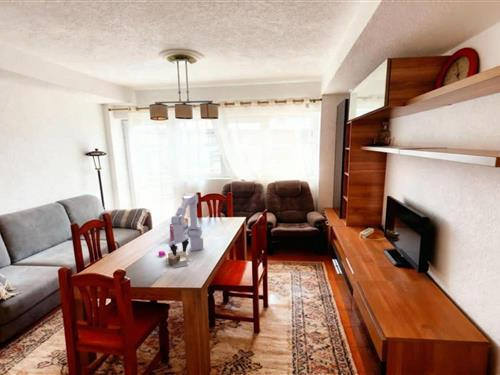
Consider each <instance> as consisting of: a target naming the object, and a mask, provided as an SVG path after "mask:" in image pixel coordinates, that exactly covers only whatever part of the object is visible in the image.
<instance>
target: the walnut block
mask: <svg viewBox="0 0 500 375" xmlns="http://www.w3.org/2000/svg"><path fill="white" fill-rule="evenodd" d="M179 261H180V255H177V254H176V256H174V255H173V256H171V257H169V258H168V264H167V265H172V266H173V265H174V264H175V263H177V262H178V263H179Z"/></svg>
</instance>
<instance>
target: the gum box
mask: <svg viewBox="0 0 500 375" xmlns="http://www.w3.org/2000/svg"><path fill="white" fill-rule="evenodd" d="M182 225H183V237H185V235H187V231H188V227H189V218H185V217H184V222H183V224H182ZM169 239H170V240H174V228H173V226H172V223H170V224H169Z"/></svg>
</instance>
